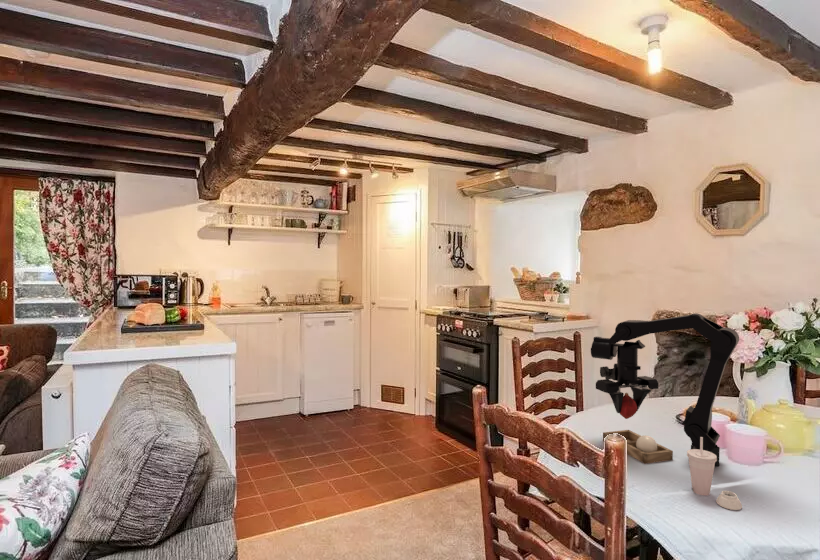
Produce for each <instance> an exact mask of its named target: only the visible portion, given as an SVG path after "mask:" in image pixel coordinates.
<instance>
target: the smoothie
mask: <svg viewBox="0 0 820 560" xmlns="http://www.w3.org/2000/svg"><path fill="white" fill-rule="evenodd" d="M686 453H687V454H686V456H687V458H688V464H689V472H690V480H691V490H692V492H693V493H694V494H696V495H699V496H705V497H707V496H710V495H711V488H712V482H713V478H714V477H713V476H714V470H715V467H714V466H715V462H716V461H717V456H716V455H715V454H713V453H711V452H709V451H705V450H703V437H700V449H691V448H690V449H688V450H687V451H686Z"/></svg>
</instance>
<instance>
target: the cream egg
mask: <svg viewBox="0 0 820 560" xmlns="http://www.w3.org/2000/svg"><path fill="white" fill-rule="evenodd" d="M657 444H658V443H657V441H656V439H654V438H653V437H652V436H649V435H641V437H639V438H638V439H637V441H636V447H637V449H639V450H641V451H643V452H645V453H648V452H656V451H657Z"/></svg>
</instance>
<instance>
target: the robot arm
mask: <svg viewBox="0 0 820 560" xmlns="http://www.w3.org/2000/svg"><path fill="white" fill-rule="evenodd" d="M614 329H615V330H614V331H615V332H614V333H613V335H611V337H602V336H594V337H593V341H592V343H591V347H590V355H591V357H592V358H593V359H600V360H601V359H602V360H610V361H612V360H613V359H614V358H615V357H616V360H617V361H616V363H614V364H613V368H609V366H600V367H599V376H600V377H601V378H605V379H598V380H597V381H595V390H597V391H600V392H603V393H606V394H608V395H609V397H610V398H611V400H612V403H613V405H614V409H615V411H616V413H617V414H620V412H621V408H622V401H623V396H624V395H625V393H624V392H622V391H621V389H626V388H630V389H631V391H632V394H633V395H632V398H633V399H634V401H635V402H636V405H637V411H636V413H637V412H638V411H639V409H640V407H641V405H642V404H643V402H644V400H645V399H646V397H647V396H648V394H649V393H651V392H652V390H657V389H659V388H660V387H659V382H658V380H657V378H654V377H651V376H646V375H642V376H638V371H640V370H641V367H642V366H640V365H638V364H639V363H638V362H639V361H638V356H639V355H638V352H639V351H638V350H642V349H644V348H646V345H645V344H644V343H643V342H641V340H640V339H638V338H640V337H644V336H646V335H651V334H659V333H665V332H674V331H680V330H681V331H682V330H687V329H688V330H689V329H692V330H694V331H696V332H697V333H699V334H700V335H701V336H703V338H705V339H706V340H708V341H710V348H709V349H710V350H709V355H710V356H709V357H710V358H709V362H708V366H707V367H706V372H705V375H704V378H703V382H702V385H701V388H700V391H699V394H698V399H697V401H696V404H695V406H694V407H693V406H692V405H690V406H689V407H688V408H687V409H686V411H685V416H684V420H683V422H682V423H681V425H683V431H684V433H685V435H686V436H687V437H688V438H690V442H691V445H690V449H700V437H703V450H705V451H709V452H711V453H713V454H715V455H716V456H717V461H716V462H715V466H714V468H717V467H720V451H721V450H720V448H721V447H720V446H718V444H717V442H719V439H720V437H721V435H720V433H718V432H717V430H716V429H714V427H713V426H712V423H713V422H712V421H713V405H714V404H715V400H716V397H717V393H718V391H719V388H720V384H721V381H722V377H723V375H724V371H725V368H726V365H727V363H728V361H729V359H730V357H731V355H732V354H733V352H734V351H735V350H736V347H737V345H738V344H739V341H740V335H739V333H738V332H737V331H736V330H735V329H733V328H731V327H723V326H722V325H720V324H718V323H716V322H714V321H712V320H711V319H708V318H707V317H705V316H703V315H702V314H700V313H699V312H698V313H696V312H695V313H692V314H687V315H680V316H674V317H668V318H667V317H666V318H659V319H654V320H653V319H652V320H642V319H641V320H639V319H637V320H636V319H635V320H634V319H628V320H625V321H621V322H618V324H617V325H616V326H615V328H614ZM635 339H638V340H636V341H632V340H635ZM621 341H624V342H623V343H619V342H621ZM648 388H649V389H648Z"/></svg>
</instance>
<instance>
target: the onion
mask: <svg viewBox="0 0 820 560" xmlns="http://www.w3.org/2000/svg"><path fill="white" fill-rule="evenodd" d="M636 411H637V405H636V402H635V401H634V399H633V397H631V396H630V395H629V392H625V393H624V395H623V401H622V408H621V412H620V413H619V414H620V416H621V417H623V418H624V419H625V420H628V419H630V418H632V417H634V416H635V414H637V412H638V411H637V412H636Z"/></svg>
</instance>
